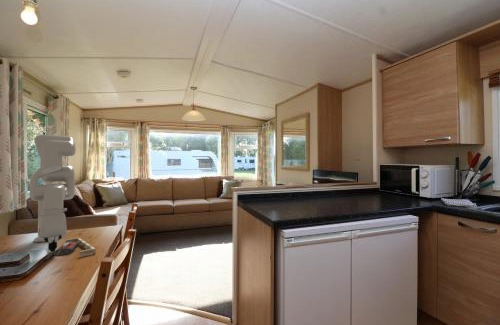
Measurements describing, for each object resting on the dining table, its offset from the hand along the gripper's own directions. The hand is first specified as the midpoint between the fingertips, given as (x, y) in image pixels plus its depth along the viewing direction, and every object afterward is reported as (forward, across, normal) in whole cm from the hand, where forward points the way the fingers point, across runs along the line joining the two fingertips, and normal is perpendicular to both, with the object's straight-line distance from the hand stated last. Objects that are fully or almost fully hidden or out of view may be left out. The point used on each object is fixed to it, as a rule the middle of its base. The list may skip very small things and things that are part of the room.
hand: (52, 250), depth 116 cm
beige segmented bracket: (+2, -11, 0) cm, 11 cm away
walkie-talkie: (+3, -4, +1) cm, 5 cm away
